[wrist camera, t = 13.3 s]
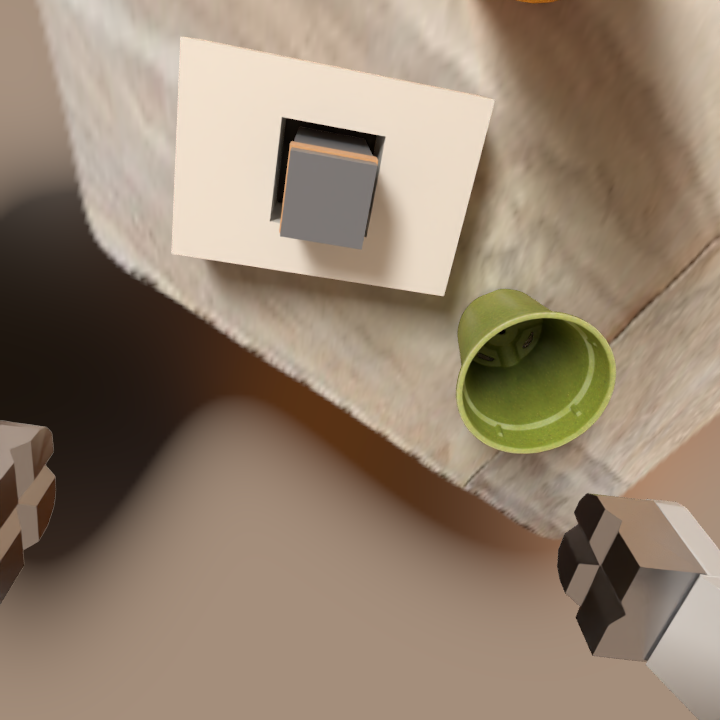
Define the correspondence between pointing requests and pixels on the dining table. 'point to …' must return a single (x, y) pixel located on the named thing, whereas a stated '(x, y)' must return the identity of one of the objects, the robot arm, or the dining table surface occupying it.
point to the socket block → (264, 153)
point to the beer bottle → (537, 1)
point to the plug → (328, 188)
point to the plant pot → (530, 373)
